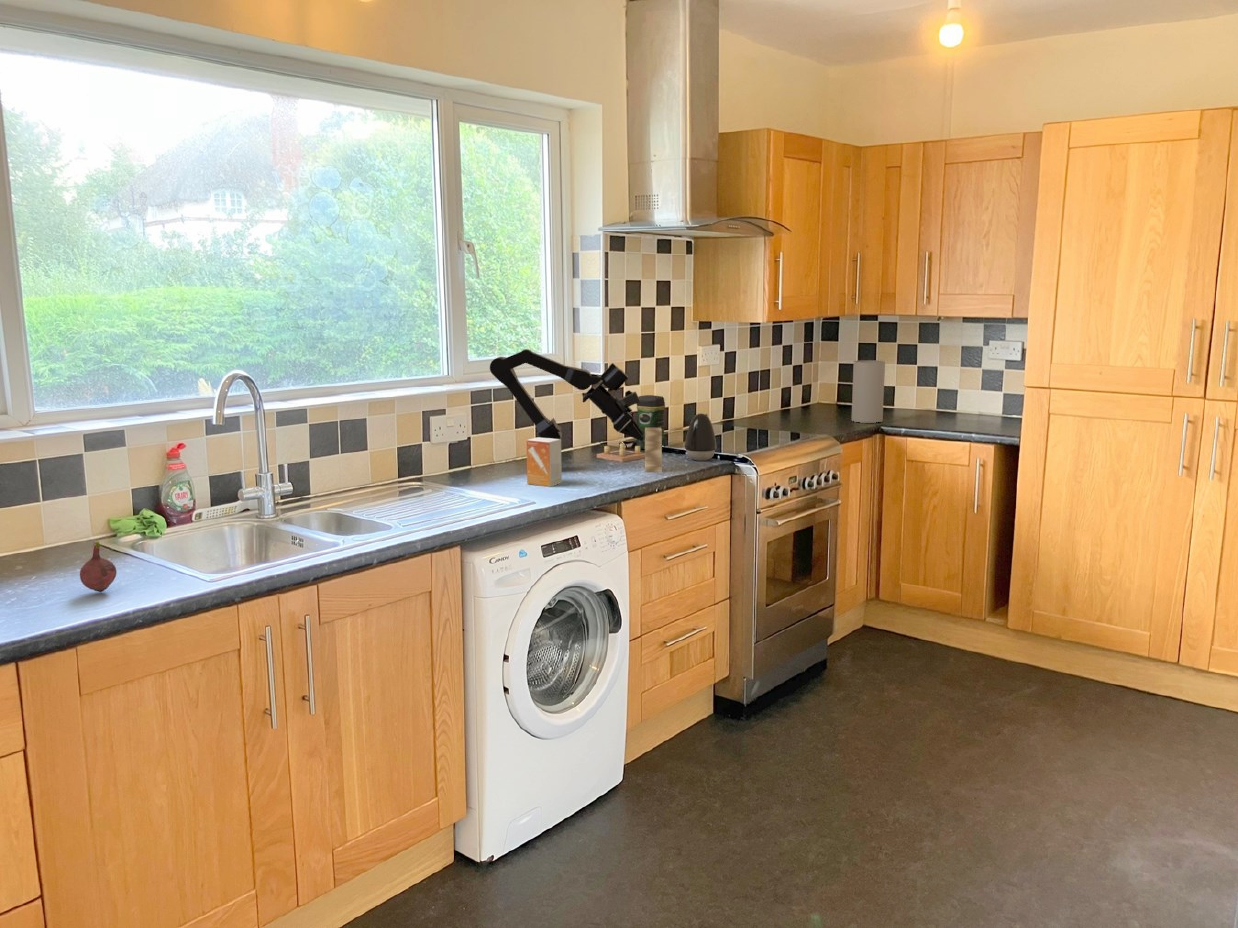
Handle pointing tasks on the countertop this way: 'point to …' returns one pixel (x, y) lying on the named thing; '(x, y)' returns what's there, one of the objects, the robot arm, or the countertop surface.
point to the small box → (544, 461)
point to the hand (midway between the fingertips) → (642, 437)
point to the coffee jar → (650, 415)
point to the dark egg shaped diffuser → (700, 438)
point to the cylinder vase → (868, 391)
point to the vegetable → (97, 572)
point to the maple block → (653, 450)
